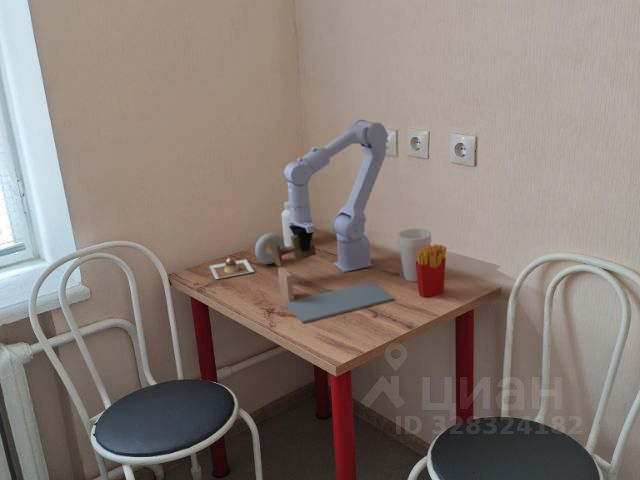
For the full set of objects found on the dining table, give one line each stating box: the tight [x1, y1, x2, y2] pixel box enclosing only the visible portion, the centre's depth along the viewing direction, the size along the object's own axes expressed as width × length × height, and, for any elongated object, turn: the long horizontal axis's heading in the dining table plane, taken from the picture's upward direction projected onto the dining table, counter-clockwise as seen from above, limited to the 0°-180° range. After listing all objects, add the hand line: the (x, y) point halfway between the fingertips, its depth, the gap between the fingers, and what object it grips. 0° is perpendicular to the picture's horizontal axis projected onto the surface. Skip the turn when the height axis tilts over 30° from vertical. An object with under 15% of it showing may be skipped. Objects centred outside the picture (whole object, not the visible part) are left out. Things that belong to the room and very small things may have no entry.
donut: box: [254, 232, 285, 265], centre depth 204 cm, size 10×3×10 cm, turn 122°
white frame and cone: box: [209, 256, 255, 280], centre depth 202 cm, size 12×12×5 cm
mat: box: [284, 281, 394, 324], centre depth 174 cm, size 26×13×1 cm, turn 113°
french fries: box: [416, 244, 447, 299], centre depth 173 cm, size 9×4×13 cm, turn 121°
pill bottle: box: [281, 200, 294, 248], centre depth 218 cm, size 8×8×15 cm
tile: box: [277, 267, 295, 302], centre depth 178 cm, size 2×7×8 cm, turn 23°
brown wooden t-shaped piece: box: [269, 235, 317, 269], centre depth 188 cm, size 12×7×7 cm, turn 113°
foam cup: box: [397, 228, 432, 282], centre depth 185 cm, size 10×9×13 cm
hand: (303, 249), depth 190 cm, fingers closed on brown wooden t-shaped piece
